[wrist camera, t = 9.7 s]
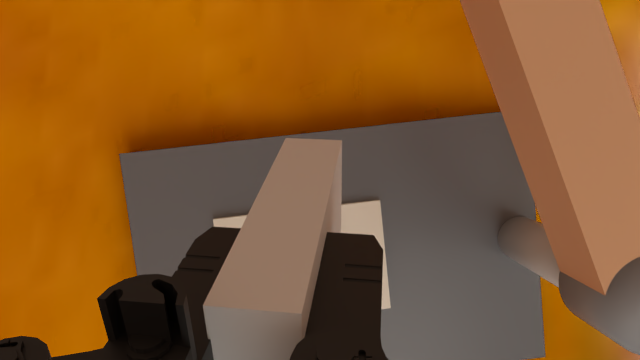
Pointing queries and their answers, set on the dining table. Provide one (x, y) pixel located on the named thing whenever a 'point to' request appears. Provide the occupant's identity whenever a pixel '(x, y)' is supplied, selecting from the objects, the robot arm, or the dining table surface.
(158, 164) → the base plate with post
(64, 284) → the dining table surface
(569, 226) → the swing bar
